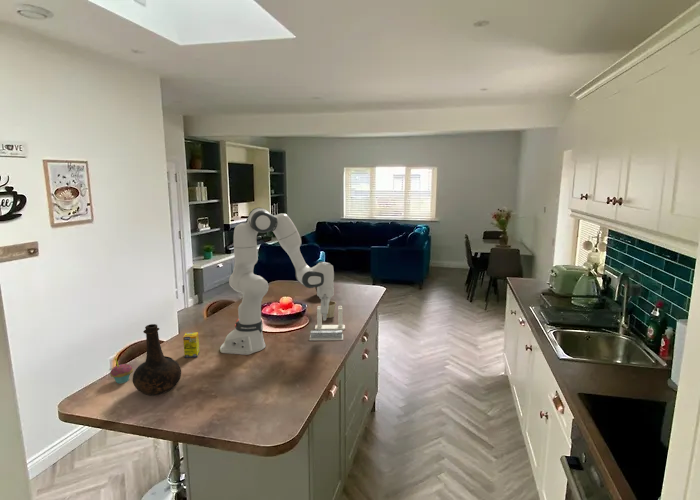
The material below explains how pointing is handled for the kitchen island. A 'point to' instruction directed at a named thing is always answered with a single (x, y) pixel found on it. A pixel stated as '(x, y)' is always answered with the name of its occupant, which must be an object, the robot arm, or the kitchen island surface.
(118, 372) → the cupcake
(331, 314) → the flower pot
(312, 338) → the pad
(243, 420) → the kitchen island surface
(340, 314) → the twin post stand
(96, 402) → the kitchen island surface
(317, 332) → the rail
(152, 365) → the glass bottle
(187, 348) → the supplement box
